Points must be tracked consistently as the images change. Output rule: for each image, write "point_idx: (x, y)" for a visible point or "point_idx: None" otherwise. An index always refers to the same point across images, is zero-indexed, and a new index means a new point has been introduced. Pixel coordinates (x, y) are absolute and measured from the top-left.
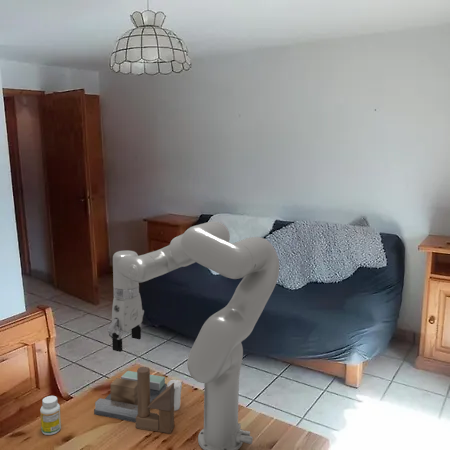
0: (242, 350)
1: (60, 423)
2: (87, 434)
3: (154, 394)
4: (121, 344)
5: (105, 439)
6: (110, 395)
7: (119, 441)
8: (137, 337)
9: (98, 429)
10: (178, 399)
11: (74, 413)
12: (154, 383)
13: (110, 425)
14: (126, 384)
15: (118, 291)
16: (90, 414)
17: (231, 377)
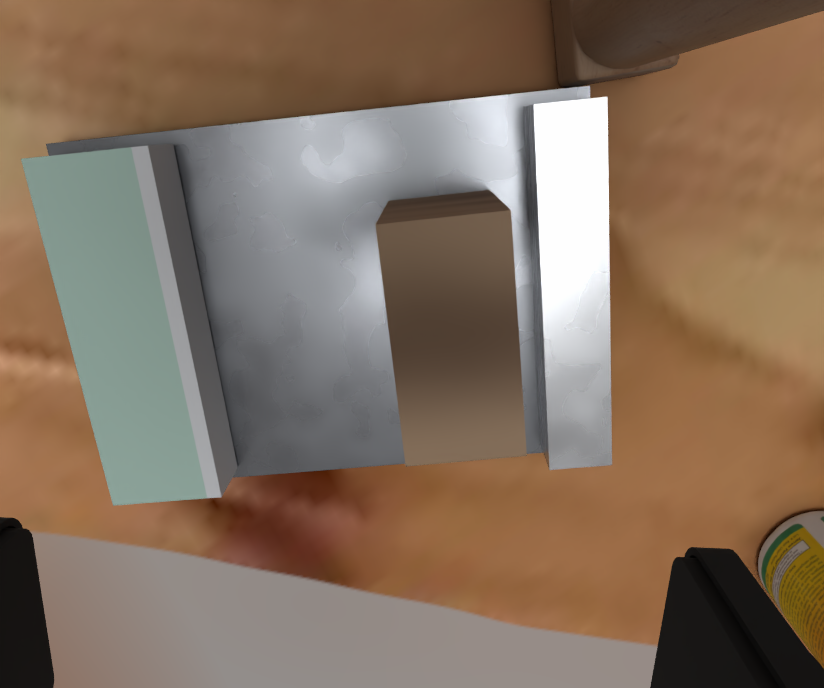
0: None
1: (815, 535)
2: (799, 342)
3: (239, 153)
4: (807, 668)
5: (820, 203)
6: (400, 449)
7: (818, 97)
8: (15, 587)
9: (731, 310)
10: None
11: (621, 541)
12: (160, 194)
13: (668, 264)
14: (474, 319)
15: None
16: None
17: None
